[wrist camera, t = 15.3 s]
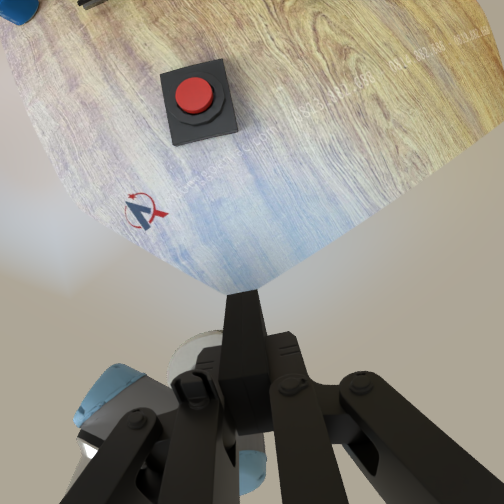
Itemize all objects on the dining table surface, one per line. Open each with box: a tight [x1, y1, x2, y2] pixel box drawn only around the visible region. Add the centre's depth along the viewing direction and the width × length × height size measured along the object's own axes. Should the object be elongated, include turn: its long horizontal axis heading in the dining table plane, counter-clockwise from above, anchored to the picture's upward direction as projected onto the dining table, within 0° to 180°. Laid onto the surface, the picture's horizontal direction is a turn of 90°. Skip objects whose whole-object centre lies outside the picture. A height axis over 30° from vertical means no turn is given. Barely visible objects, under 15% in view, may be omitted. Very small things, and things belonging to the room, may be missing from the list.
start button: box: [175, 77, 213, 114], centre depth 34 cm, size 5×5×2 cm
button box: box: [160, 59, 238, 146], centre depth 37 cm, size 11×9×4 cm
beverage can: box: [0, 0, 39, 25], centre depth 24 cm, size 6×6×12 cm
